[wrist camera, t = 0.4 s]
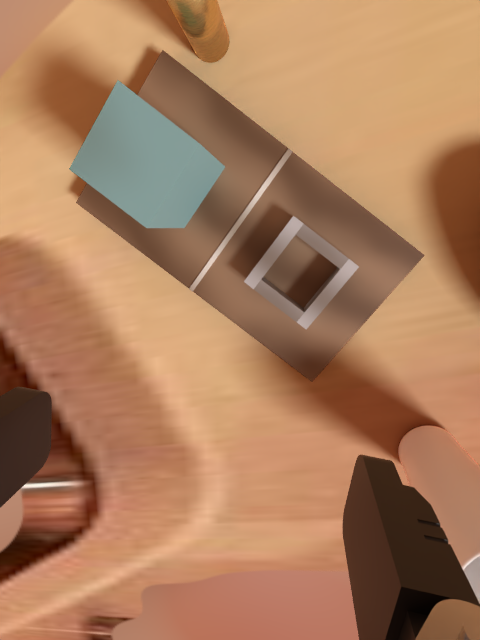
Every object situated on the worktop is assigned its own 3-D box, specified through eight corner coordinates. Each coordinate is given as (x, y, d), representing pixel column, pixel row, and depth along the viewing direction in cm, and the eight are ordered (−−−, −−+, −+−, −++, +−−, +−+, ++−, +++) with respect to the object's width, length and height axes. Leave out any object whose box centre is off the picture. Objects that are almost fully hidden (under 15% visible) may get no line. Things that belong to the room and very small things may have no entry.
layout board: (170, 60, 32) (131, 7, 24) (416, 253, 33) (455, 261, 25) (87, 203, 35) (30, 197, 28) (311, 373, 36) (316, 413, 29)
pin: (206, 11, 31) (172, -75, 22) (236, 35, 31) (214, -41, 22) (185, 47, 31) (144, -22, 23) (215, 70, 31) (185, 10, 23)
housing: (165, 120, 31) (117, 80, 22) (225, 166, 31) (200, 143, 23) (127, 184, 33) (69, 169, 24) (184, 228, 33) (146, 228, 24)
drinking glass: (454, 485, 37) (558, 650, 23) (382, 472, 38) (437, 625, 23) (472, 422, 35) (597, 556, 21) (396, 409, 36) (466, 532, 22)
